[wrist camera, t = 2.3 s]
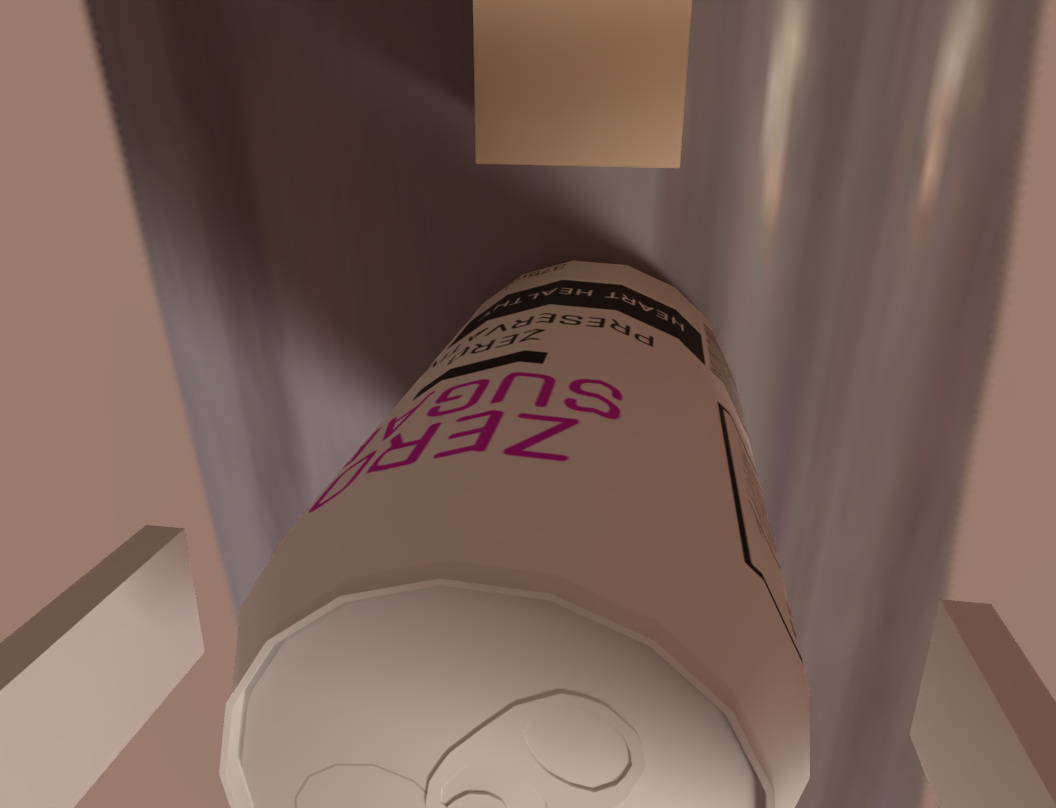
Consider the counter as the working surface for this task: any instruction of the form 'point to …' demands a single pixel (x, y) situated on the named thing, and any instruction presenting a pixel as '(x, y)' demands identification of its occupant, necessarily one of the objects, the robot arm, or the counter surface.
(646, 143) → the maple block
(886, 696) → the counter surface
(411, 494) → the supplement can
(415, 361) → the counter surface
